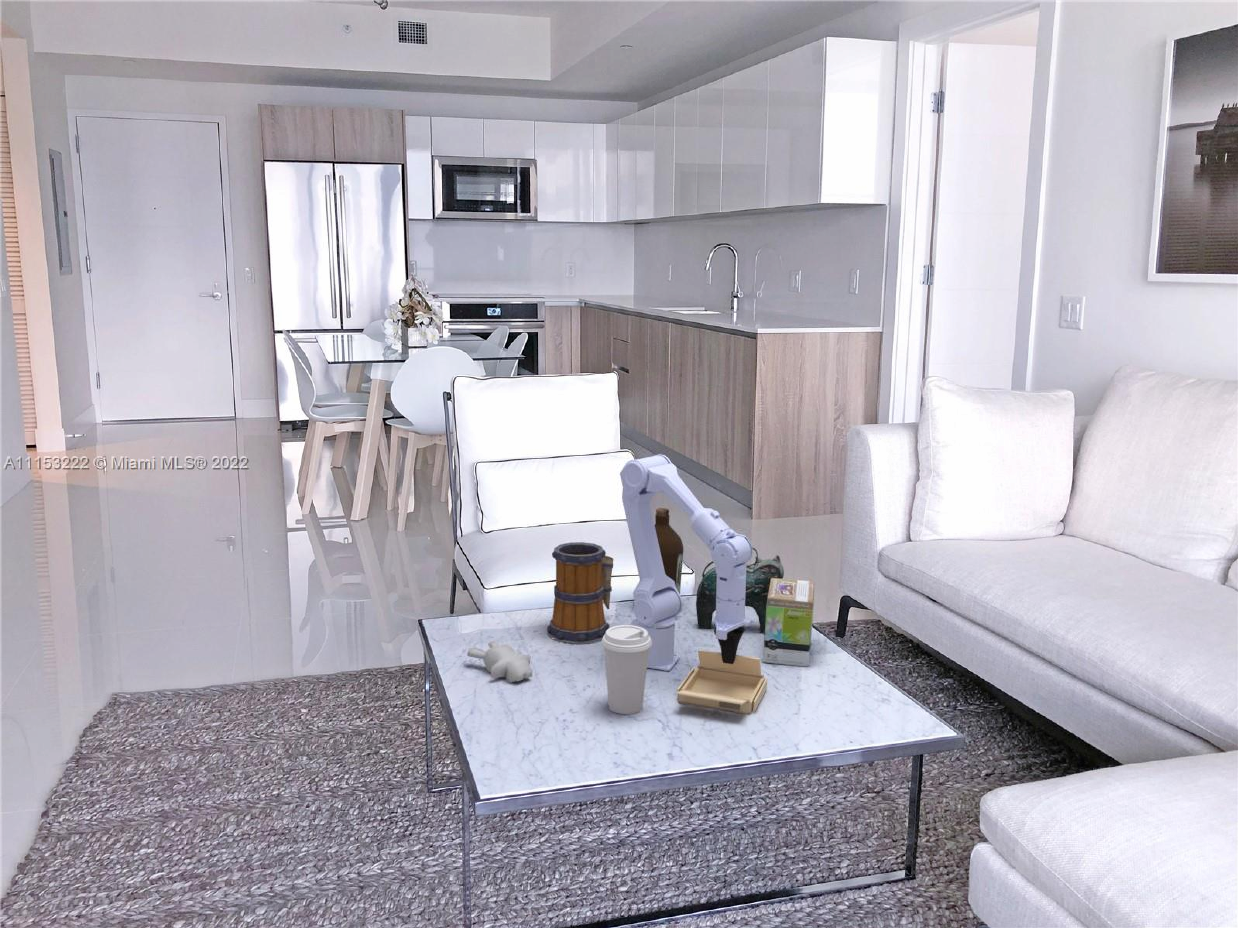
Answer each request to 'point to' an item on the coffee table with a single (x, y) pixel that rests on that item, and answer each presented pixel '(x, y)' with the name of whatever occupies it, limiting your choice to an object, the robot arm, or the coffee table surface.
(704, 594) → the green animal figurine
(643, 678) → the coffee cup
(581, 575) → the mug
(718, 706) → the carton
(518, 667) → the bunny figurine
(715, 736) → the coffee table surface
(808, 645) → the tea box
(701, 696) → the flap near
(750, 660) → the flap far
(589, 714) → the coffee table surface
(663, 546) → the olive oil
